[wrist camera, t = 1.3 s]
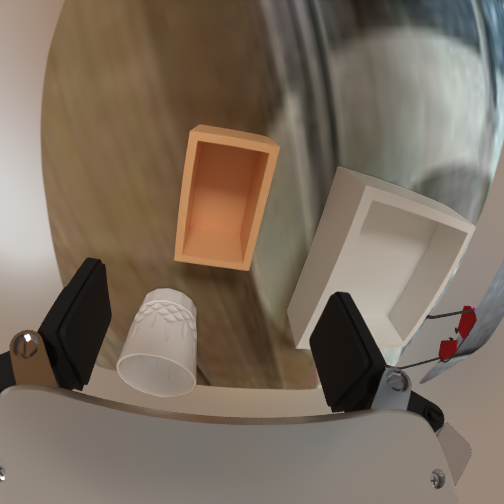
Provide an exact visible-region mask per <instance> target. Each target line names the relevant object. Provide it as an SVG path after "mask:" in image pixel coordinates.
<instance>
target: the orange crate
mask: <svg viewBox="0 0 504 504" xmlns="http://www.w3.org/2000/svg"><path fill="white" fill-rule="evenodd" d="M279 150H280V146H279V145H278V144H276V143H275V142H274V141H273V140H272V139H270V138H269V137H267V136H263V135H258V134H253V133H248V132H243V131H237V130H231V129H226V128H219V127H213V126H206V125H198V126H197V127H195V128H194V129H192V130H191V131H190V135H189V140H188V147H187V153H186V159H185V166H184V173H183V180H182V188H181V196H180V205H179V214H178V223H177V234H176V245H175V258H174V261H181V262H188V263H194V264H201V265H209V266H216V267H223V268H230V269H238V270H245V271H249V269H250V265H251V261H252V257H253V253H254V249H255V245H256V241H257V237H258V233H259V229H260V225H261V221H262V217H263V213H264V209H265V205H266V202H267V198H268V194H269V190H270V186H271V182H272V178H273V174H274V170H275V166H276V162H277V158H278V154H279Z"/></svg>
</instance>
